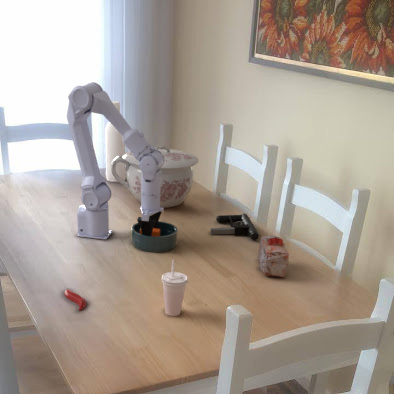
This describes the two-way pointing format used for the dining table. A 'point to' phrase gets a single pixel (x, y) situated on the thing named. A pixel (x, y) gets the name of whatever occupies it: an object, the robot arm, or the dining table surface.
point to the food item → (273, 256)
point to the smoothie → (174, 291)
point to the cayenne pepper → (76, 299)
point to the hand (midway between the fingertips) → (149, 235)
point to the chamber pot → (170, 175)
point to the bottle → (114, 150)
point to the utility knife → (154, 232)
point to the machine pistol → (236, 226)
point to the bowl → (155, 238)
